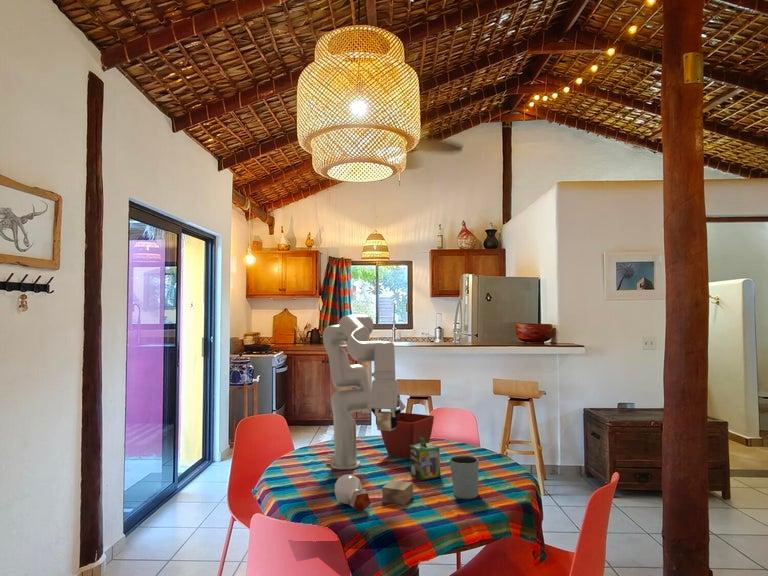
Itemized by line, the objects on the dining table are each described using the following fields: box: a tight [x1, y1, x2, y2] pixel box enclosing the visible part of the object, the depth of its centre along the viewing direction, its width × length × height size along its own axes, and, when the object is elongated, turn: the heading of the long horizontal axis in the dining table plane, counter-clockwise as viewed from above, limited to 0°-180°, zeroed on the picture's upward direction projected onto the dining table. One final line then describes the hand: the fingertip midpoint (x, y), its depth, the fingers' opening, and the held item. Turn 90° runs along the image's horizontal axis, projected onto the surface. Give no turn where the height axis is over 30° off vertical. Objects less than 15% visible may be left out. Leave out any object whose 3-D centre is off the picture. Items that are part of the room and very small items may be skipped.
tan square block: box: [381, 479, 414, 506], centre depth 167 cm, size 8×8×5 cm
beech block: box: [376, 410, 395, 431], centre depth 174 cm, size 5×5×6 cm
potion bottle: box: [333, 473, 371, 513], centre depth 162 cm, size 9×10×15 cm
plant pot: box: [379, 412, 435, 460], centre depth 222 cm, size 19×19×17 cm
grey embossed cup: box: [449, 455, 480, 500], centre depth 170 cm, size 10×10×12 cm
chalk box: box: [409, 437, 442, 481], centre depth 192 cm, size 9×9×15 cm
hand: (386, 427), depth 173 cm, fingers closed on beech block, 5 cm apart
